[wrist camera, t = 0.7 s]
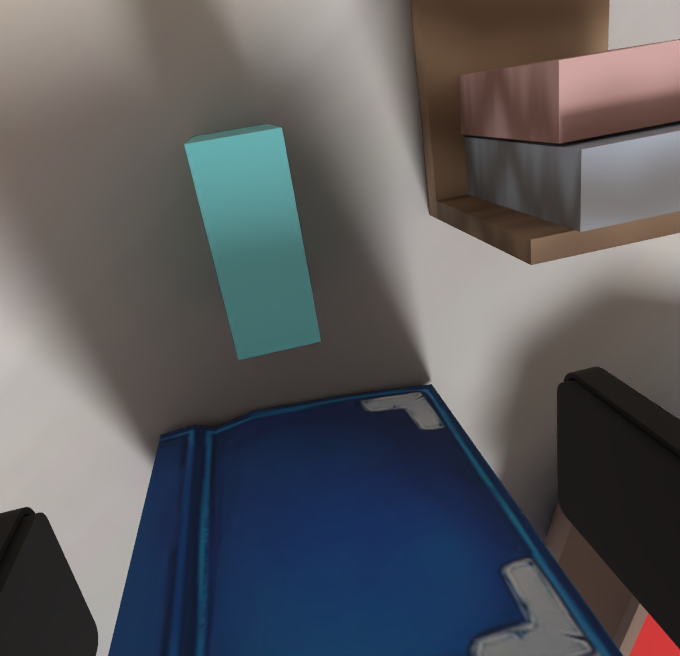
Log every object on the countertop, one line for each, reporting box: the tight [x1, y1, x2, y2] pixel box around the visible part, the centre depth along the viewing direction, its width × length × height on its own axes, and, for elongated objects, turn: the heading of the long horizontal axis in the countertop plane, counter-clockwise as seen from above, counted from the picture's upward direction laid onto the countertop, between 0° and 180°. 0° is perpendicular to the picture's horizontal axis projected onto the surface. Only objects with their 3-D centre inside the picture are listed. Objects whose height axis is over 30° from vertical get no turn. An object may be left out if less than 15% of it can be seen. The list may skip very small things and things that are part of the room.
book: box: [108, 384, 623, 656], centre depth 31 cm, size 22×7×25 cm, turn 94°
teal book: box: [184, 124, 321, 360], centre depth 32 cm, size 11×4×9 cm, turn 9°
